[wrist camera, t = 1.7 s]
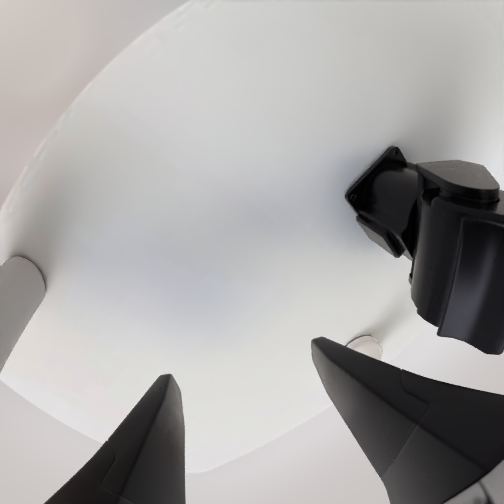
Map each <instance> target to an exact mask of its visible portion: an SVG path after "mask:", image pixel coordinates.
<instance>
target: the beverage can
mask: <svg viewBox="0 0 504 504" xmlns="http://www.w3.org/2000/svg"><path fill="white" fill-rule="evenodd" d="M44 296H45V285H44V280H43V277H42V275H41V273H40V271H39V270H38V268H37V267H36V266H35V265H34V264H33V263H32V262H31V261H29V260H27V259H25V258H23V257H18V256H15V257H11V258H10V259H8V260H7V261H6V262H5V263H4V264H3V265H2V266H1V267H0V372H1V370H2V368H3V367H4V365H5V363H6V361H7V359H8V357H9V355H10V353H11V351H12V350H13V348H14V346H15V344H16V342H17V341H18V339H19V337H20V336H21V334H22V332H23V331H24V329H25V327H26V326H27V324H28V322H29V321H30V319H31V317H32V316H33V314H34V313H35V311H36V310H37V308H38V307H39V305H40V304H41V302H42V300H43V298H44Z"/></svg>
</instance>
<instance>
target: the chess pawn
mask: <svg viewBox="0 0 504 504" xmlns="http://www.w3.org/2000/svg"><path fill="white" fill-rule="evenodd" d="M346 347H348V348H351V349H353V350H355V351H358V352H360V353H363V354H365V355H367V356H370V357H372V358H375V359H377V360H381V357H382V353H383V350H382V347H381V345H380V344H379V343H378V341H377V340H376V339H375V338H374V337H372V336H363V337H360V338H357V339H355V340H354V341H352V342H351V343H349V344H348V345H347V346H346Z"/></svg>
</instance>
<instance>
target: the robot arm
mask: <svg viewBox="0 0 504 504" xmlns="http://www.w3.org/2000/svg"><path fill="white" fill-rule="evenodd" d="M394 150H395V154H394ZM352 194H353V198H352V199H350V196H351V195H352ZM345 199H346V201H347V202H348V204H349V205H350V206H351V207H352V209H353V210H354V211H355V213H356V214H357V216H356V221H357V222H358V223H359V225H360V226H361V227H362V229H363V230H364V231H365V233H366V234H367V235H368V237H369V238H370V239H371V240H372V241H374V242H375V243H377V244H378V245H379V246H381V247H382V248H383V249H385V250H386V251H387V252H389V253H390V254H391V255H393V256H394V257H395V258H399V257H400V256H401V255H402V254H403V255H404V256H406V257H407V258H408V259H410V260H411V261H412V268H411V273H410V274H409V283H410V285H411V298H412V300H413V302H414V304H415V306H416V307H417V313H418V314H419V315H420V316H421V317H422V318H423V319H424V320H425V321H427V322H429V323H430V324H432V325H434V326H436V327H439V328H438V332H437V335H438V336H440V337H449V338H455V339H458V340H461V341H464V342H466V343H468V344H470V345H472V346H474V347H475V348H477V349H479V350H481V351H482V352H484V353H486V354H494V355H500V354H502V352H503V351H504V191H502V190H500V185H499V184H498V182H497V181H496V180H495V179H494V177H493V176H492V175H491V174H490V173H489V171H488V170H487V169H486V168H485V167H484V166H483V165H479V164H475V163H470V162H466V161H461V160H450V161H437V162H426V163H416V164H413V163H410V162H407V161H406V159H405V158H404V156H403V154H402V152H401V151H400V149H399V148H398V147H395V146H392V147H390V148H389V149H388V150H387V151H386V152H385V153H384V154H383V155H382V156H381V157H380V159H379V160H378V161H377V162H376V163H375V164H374V165H373V166H372V167H371V168H370V169H369V170H368V171H367V172H366V173H365V174H364V175H363V176H362V177H361V178H360V179H359V180H358V181H357V182H356V183H355V184H354V185H353V186H352V187H351V188H350V189H349V190H348V191H347V192H346V194H345ZM311 350H312V359H313V362H314V365H315V367H316V369H317V372H318V374H319V376H320V379H321V381H322V383H323V385H324V388H325V390H326V392H327V394H328V396H329V397H330V399H331V400H332V402H333V404H334V405H335V407H336V408H337V410H338V412H339V413H340V415H341V416H342V418H343V420H344V421H345V423H346V424H347V426H348V428H349V429H350V431H351V432H352V434H353V436H354V437H355V439H356V440H357V442H358V444H359V445H360V447H361V448H362V450H363V452H364V453H365V455H366V456H367V458H368V459H369V461H370V463H371V464H372V466H373V467H374V469H375V470H376V472H377V473H378V475H379V477H380V478H381V480H382V482H383V483H384V485H385V487H386V490H387V493H388V497H389V500H390V503H391V504H504V395H500V394H495V393H490V392H485V391H480V390H476V389H471V388H467V387H462V386H458V385H453V384H449V383H445V382H441V381H437V380H433V379H430V378H426V377H423V376H420V375H417V374H414V373H412V372H409V371H406V370H403V369H402V370H401V369H400V368H398V367H395V366H392V365H390V364H387V363H385V362H382V361H380V360H377V359H375V358H372V357H370V356H367V355H365V354H363V353H360V352H358V351H355V350H353V349H351V348H348V347H346V346H343V345H341V344H339V343H336V342H334V341H332V340H329V339H327V338H325V337H318V338H315V339H313V340H312V341H311ZM44 504H185V425H184V416H183V407H182V398H181V391H180V388H179V386H178V384H177V383H176V381H175V379H174V377H173V376H172V374H165V375H160V376H159V377H158V379H157V380H156V381H155V382H154V384H153V385H152V386H151V387H150V388H149V390H148V391H147V392H146V393H145V395H144V396H143V397H142V398H141V400H140V401H139V402H138V403H137V404H136V406H135V407H134V408H133V409H132V411H131V412H130V413H129V414H128V415H127V417H126V418H125V419H124V420H123V422H122V423H121V424H120V425H119V426H118V428H117V429H116V430H115V431H114V433H113V434H112V435H111V436H110V437H109V439H108V441H106V442H105V443H104V444H103V445H102V447H101V448H100V449H99V450H98V451H97V452H96V454H95V455H94V456H93V457H92V458H91V459H90V460H89V461H88V462H87V463H86V464H85V465H84V466H83V467H82V468H81V469H80V470H79V471H78V472H77V473H76V474H75V475H74V476H73V477H72V478H71V479H70V480H69V481H68V482H67V483H66V484H64V485H63V486H62V487H61V488H60V489H59V490H58V491H57V492H56V493H55V494H54V495H53V496H52V497H51V498H50V499H48V500H47V501H46V502H45V503H44Z"/></svg>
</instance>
